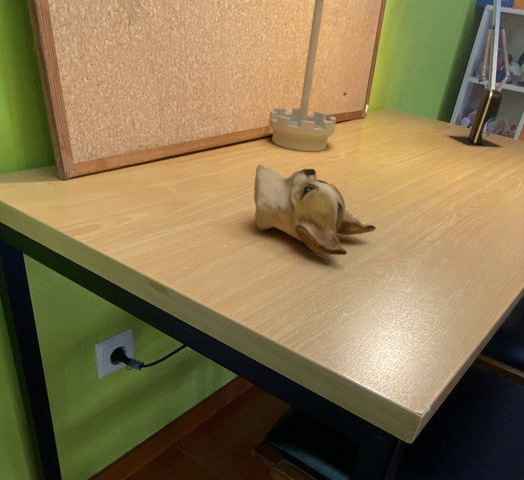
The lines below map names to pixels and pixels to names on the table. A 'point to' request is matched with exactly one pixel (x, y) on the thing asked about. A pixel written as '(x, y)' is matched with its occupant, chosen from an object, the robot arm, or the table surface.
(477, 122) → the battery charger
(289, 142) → the flag stand
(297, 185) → the ceramic sculpture
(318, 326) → the table surface
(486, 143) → the mat
